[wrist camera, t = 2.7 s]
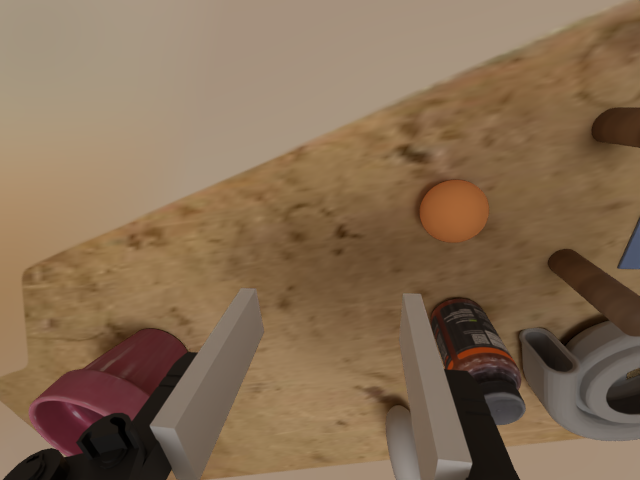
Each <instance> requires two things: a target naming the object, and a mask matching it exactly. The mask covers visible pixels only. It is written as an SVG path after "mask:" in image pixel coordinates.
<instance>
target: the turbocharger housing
mask: <svg viewBox="0 0 640 480" xmlns="http://www.w3.org/2000/svg"><path fill="white" fill-rule="evenodd" d="M519 338H520V341H521V342H522V357H523V371H524V375H525V378H526V380H527V382H528V384H529V386H530V387H531V388H532V390H533V391H534V393H535V394H536V396H537V397H538V399H539V400H540V402H541V403H542V404H543V406H544V407H545V409H546V410H547V412H548V413H549V415H550V416H551V417H552V418H553V419H554V420H555V421H556V422H557V423H558V424H560V425H561V426H562V427H564V428H565V429H567V430H568V431H570V432H573V433H575V434H577V435H580V436H583V437H586V438H590V439H595V440H603V441H627V440H636V439H640V375H638V376H636V377H633V378H630V379H627V380H626V376H627V373H628V372H630V371H632V370H635V369H637V368H640V337H634V336H629V335H627V334H625V333H624V332H622V331H621V330H620V329H619V328H618V327H617V326H616V325H614V324H613V323H612V322H611V321H606V322H603V323H600V324H597V325H594V326H592V327H590V328H587V329H585V330H584V331H582V332H581V333H579V334H578V335H576V336H575V337H574V338H573V339H571V340H570V341H569V342H568V343H567V345H566V346H564V345H563V344H562V343H561V342H560V341H559V340H558V339H557V338H556V337H555V336H554V335H553V334H552V333H551V332H549V331H547V330H545V329H542V328H531V329H524V330H522V331H521V332H520V334H519Z"/></svg>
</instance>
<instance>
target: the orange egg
mask: <svg viewBox="0 0 640 480" xmlns="http://www.w3.org/2000/svg"><path fill="white" fill-rule="evenodd" d="M488 216H489V204H488V201H487V198H486V196H485V194H484V193H483V192H482V191H481V190H480V189H479V188H478V187H477V186H476V185H474V184H472V183H470V182H467V181H463V180H449V181H445V182H442V183H440V184H438V185H436V186H434V187H433V188H432V189H431V190H429V191H428V193H427V194H426V195H425V197H424V198H423V200H422V203H421V206H420V219H421V222H422V225H423V227H424V228H425V230H426V231H427V232H428V233H429V234H430V235H431V236H433V237H434V238H436V239H438V240H440V241H444V242H449V243H457V242H462V241H466V240H468V239H470V238H472V237H474V236H475V235H477V234H478V233H479V232H480V231H481V230H482V229H483V227H484V226H485V224H486V222H487V219H488Z"/></svg>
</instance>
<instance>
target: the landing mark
mask: <svg viewBox="0 0 640 480" xmlns="http://www.w3.org/2000/svg"><path fill="white" fill-rule="evenodd" d="M617 268H619V269H640V219H639V221H638V223H637V226H636V228H635V230H634V232H633V234H632V237H631V239H630V241H629V243H628V245H627V248H626V250H625V252H624V254H623V256H622V259H621V261H620V263H619V265H618V267H617Z"/></svg>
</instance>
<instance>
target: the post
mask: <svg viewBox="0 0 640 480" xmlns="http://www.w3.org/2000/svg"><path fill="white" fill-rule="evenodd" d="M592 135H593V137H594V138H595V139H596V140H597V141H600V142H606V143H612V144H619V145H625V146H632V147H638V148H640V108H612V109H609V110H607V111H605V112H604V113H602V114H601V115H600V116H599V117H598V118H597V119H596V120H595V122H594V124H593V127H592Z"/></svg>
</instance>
